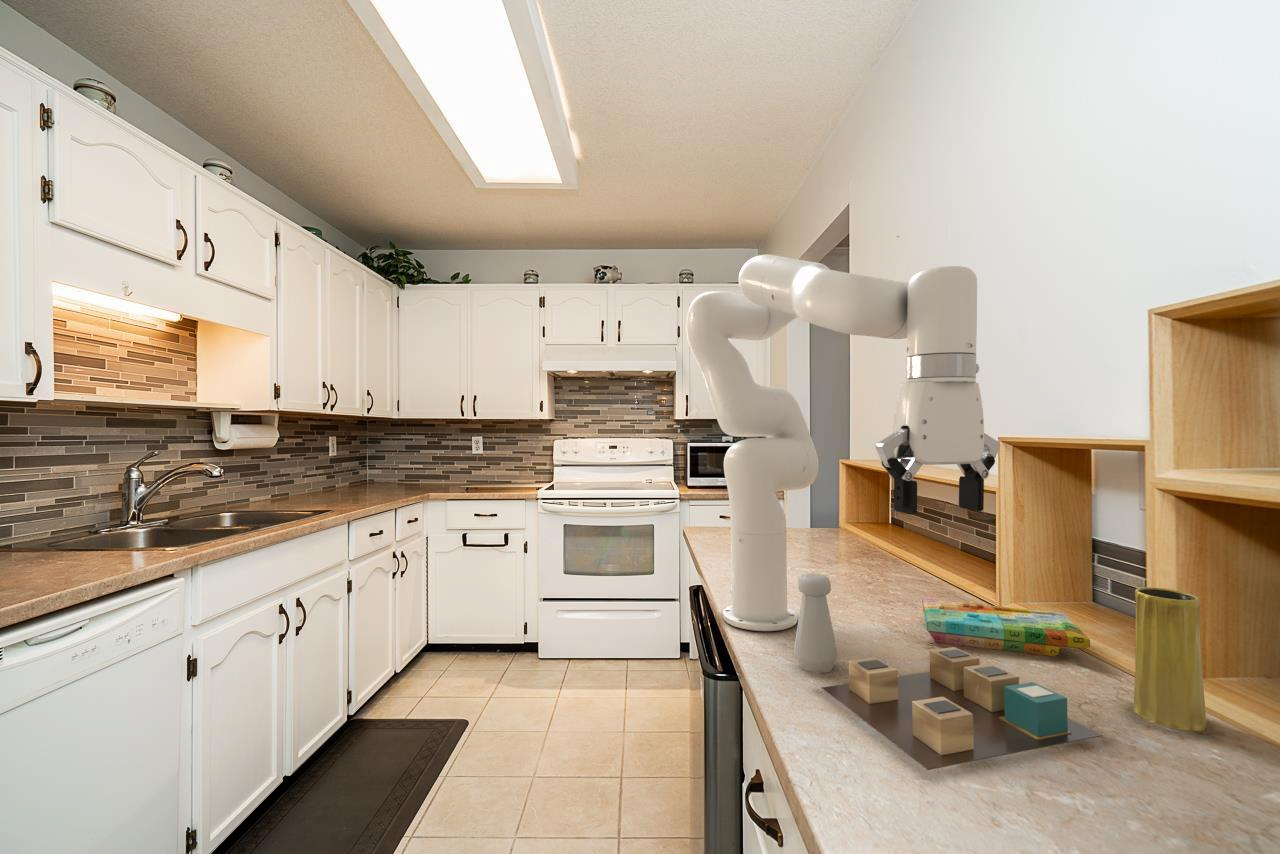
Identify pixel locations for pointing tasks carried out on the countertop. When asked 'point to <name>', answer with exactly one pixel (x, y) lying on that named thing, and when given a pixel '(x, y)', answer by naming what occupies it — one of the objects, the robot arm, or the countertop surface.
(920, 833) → the countertop surface
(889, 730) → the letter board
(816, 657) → the salt shaker
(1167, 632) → the vase
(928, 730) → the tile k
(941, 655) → the tile
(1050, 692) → the tile
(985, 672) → the tile
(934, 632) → the puzzle game
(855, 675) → the light wood cube
